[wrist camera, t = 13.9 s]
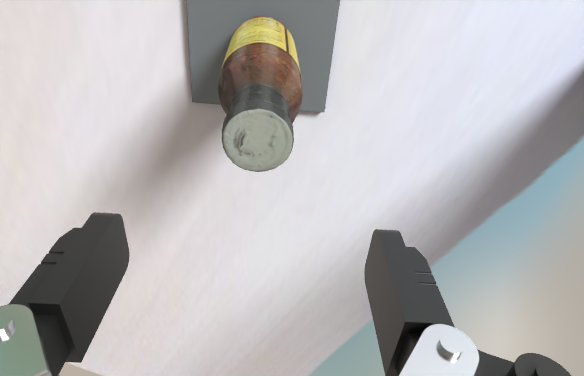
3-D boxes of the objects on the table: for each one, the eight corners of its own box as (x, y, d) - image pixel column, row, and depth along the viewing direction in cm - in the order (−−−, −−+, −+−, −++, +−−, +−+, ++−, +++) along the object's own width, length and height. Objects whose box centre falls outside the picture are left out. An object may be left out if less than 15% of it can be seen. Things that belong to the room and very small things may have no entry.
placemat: (340, -14, 36) (341, -13, 35) (323, 109, 42) (324, 112, 42) (186, -29, 35) (185, -28, 34) (193, 99, 41) (192, 102, 41)
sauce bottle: (218, 48, 38) (166, 136, 21) (262, -2, 35) (242, 53, 19) (267, 94, 40) (255, 205, 24) (311, 50, 38) (332, 139, 21)
